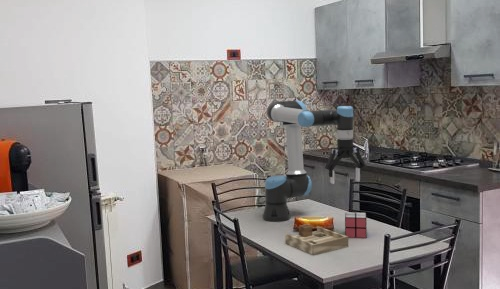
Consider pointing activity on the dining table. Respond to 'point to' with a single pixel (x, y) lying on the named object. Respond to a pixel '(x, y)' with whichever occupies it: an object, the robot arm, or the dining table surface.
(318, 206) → the dining table surface
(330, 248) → the wooden sorting tray
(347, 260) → the dining table surface
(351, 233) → the puzzle cube
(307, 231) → the block
